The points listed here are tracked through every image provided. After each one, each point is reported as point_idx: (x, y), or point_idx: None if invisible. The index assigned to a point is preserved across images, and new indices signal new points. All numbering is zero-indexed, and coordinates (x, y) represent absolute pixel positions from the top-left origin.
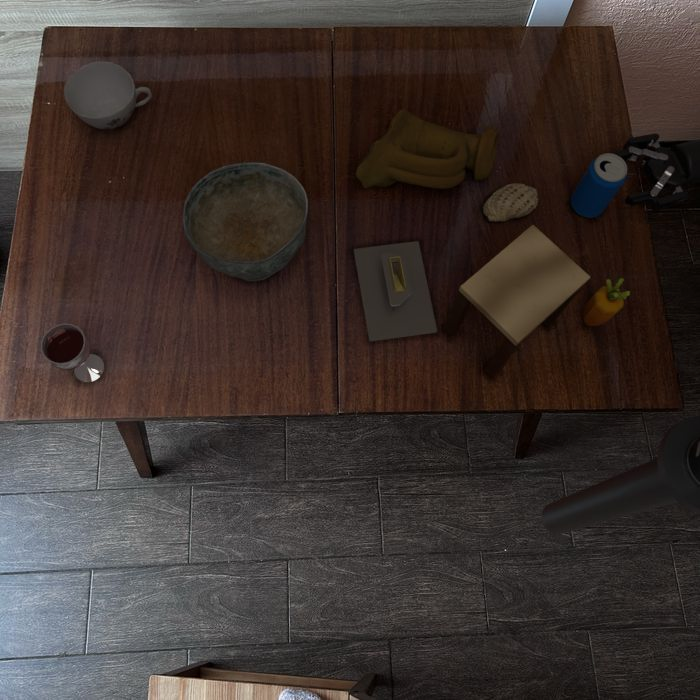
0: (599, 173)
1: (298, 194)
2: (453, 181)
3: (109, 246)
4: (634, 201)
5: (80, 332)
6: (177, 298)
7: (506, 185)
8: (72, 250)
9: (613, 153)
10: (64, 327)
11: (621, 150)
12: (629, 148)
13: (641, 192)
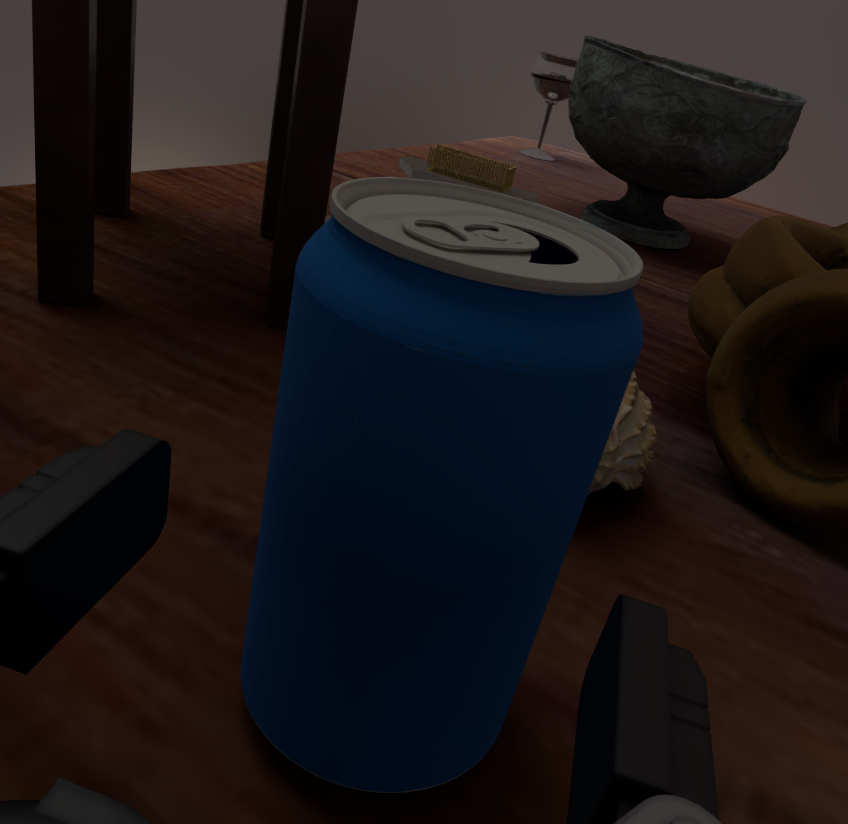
0: (480, 205)
1: (721, 120)
2: (705, 286)
3: (706, 209)
4: (80, 449)
5: (570, 65)
6: (594, 194)
7: (653, 426)
8: (710, 201)
9: (687, 672)
10: None
11: (709, 765)
12: (711, 818)
13: (79, 503)
